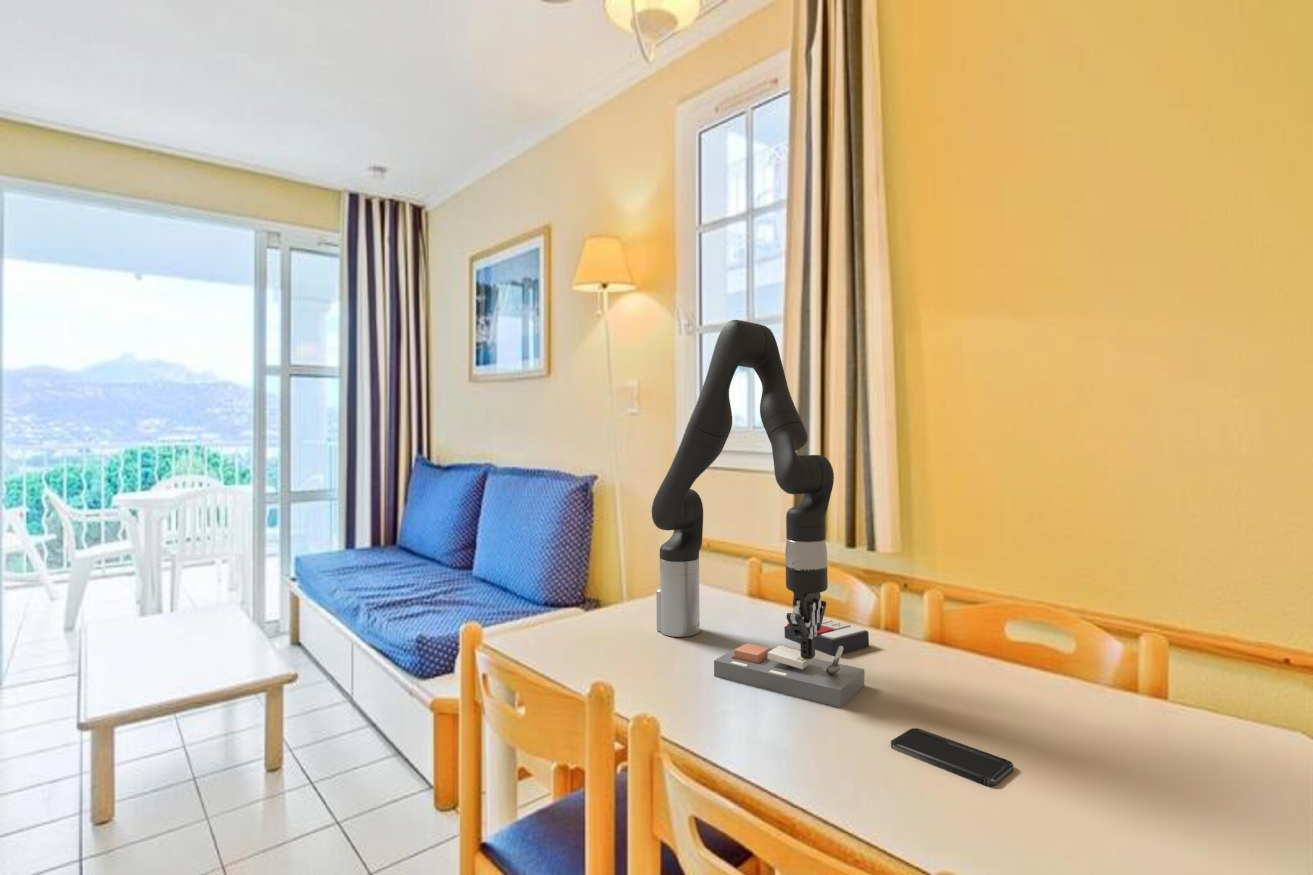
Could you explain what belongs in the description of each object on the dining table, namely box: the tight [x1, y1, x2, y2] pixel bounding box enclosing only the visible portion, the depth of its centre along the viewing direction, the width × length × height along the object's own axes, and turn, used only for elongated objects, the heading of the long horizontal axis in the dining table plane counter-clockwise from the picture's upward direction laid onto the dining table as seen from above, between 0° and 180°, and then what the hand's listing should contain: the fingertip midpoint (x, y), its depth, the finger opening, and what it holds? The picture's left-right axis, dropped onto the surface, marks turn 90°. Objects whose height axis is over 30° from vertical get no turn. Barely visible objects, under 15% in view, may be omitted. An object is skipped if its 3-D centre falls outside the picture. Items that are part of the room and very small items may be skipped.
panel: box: [713, 643, 865, 709], centre depth 124 cm, size 25×12×4 cm, turn 53°
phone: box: [890, 727, 1014, 788], centre depth 95 cm, size 8×1×15 cm
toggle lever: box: [826, 646, 843, 676], centre depth 119 cm, size 2×2×6 cm
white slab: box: [767, 645, 814, 669], centre depth 124 cm, size 7×5×1 cm
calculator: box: [783, 617, 870, 657], centre depth 146 cm, size 11×4×15 cm
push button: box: [733, 642, 771, 664], centre depth 129 cm, size 5×5×3 cm
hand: (807, 657), depth 122 cm, fingers closed
